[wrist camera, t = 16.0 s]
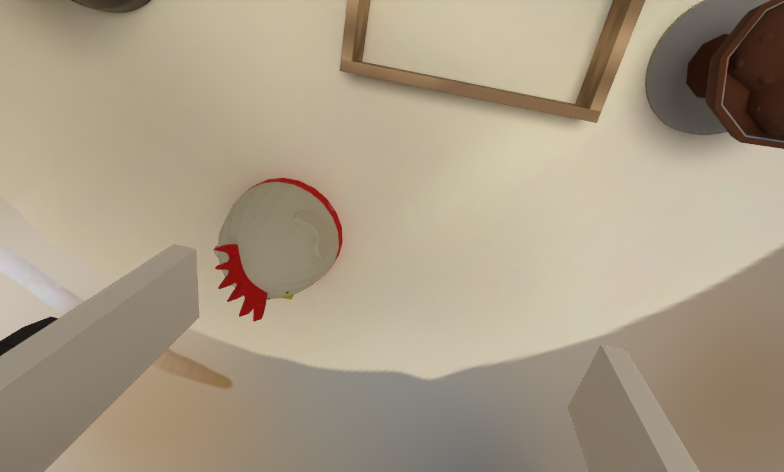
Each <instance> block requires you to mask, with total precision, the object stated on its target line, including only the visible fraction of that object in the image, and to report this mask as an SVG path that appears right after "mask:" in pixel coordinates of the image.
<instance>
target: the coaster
mask: <svg viewBox="0 0 784 472" xmlns="http://www.w3.org/2000/svg"><path fill="white" fill-rule="evenodd" d="M768 1H770V0H704V1H702V2H700V3H698V4H697V5H695V6H693V7H692V8H690V9H689V10H688V11H686V12H685V13H683V14H682V15H681V16H680V17H679V18H678V19H677V20H676V21H675V22H674V23H673V24H672V25H671V26H670V27H669V28H668V29H667V30H666V32H665V33H664V34H663V36H662V37H661V39H660V40H659V42H658V44H657V45H656V47H655V49H654V51H653V53H652V56H651V58H650V61H649V64H648V69H647V73H646V93H647V97H648V101H649V103H650V106H651V108H652V109H653V111H654V113H655V114H656V115H657V116H658V118H659V119H660V120H662V121H663V122H664V123H665V124H667V125H668V126H670V127H672V128H674V129H677V130H679V131H683V132H686V133H690V134H698V135H710V134H717V133H722V132H726V131H727V130H726V129H725V127H724V126H723V125H722V124H721V122H720V121H719V120H718V118H717V117H716V116H715V115H714V113H713V112H712V111H711V109H710V108H709V107H708V106H707V104H706V100H705V99H706V98H699V97H696V96H695V94H694V93H693V92H692V90H691V89H690V88H689V87H688V85H687V84H686V79H687V69H688V63H689V61H690V60H691V59H692V58H693V56H694V55H695V54H696V52H697V51H698V50H699V48H700V47H701V46H702V44H704V43H706V42H708V41H710V40H712V39H714V38H717V37H719V36H721V35H723V34H730V33H731V32H732V31H733V29H734V28H735V27H736V26H737V24H738V23H739V22H740V20H741V19H742V18H743V17H744V16H745V15H746V14H747V13H748V11H750V10H752V9H754V8H756V7H758V6H760V5H762V4H764V3H766V2H768Z"/></svg>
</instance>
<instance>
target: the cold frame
mask: <svg viewBox="0 0 784 472" xmlns="http://www.w3.org/2000/svg"><path fill="white" fill-rule="evenodd" d="M644 2H645V0H614V1H613V3H612V6H611V9H610V12H609V14H608V17H607V20H606V23H605V25H604V28H603V31H602V33H601V36H600V39H599V42H598V44H597V47H596V50H595V53H594V55H593V58H592V61H591V64H590V66H589V69H588V72H587V74H586V77H585V80H584V83H583V85H582V88H581V91H580V94H579V96H578V99H577V102H576V105H575V104H570V103H565V102H560V101H555V100H550V99H545V98H540V97H535V96H530V95H525V94H520V93H515V92H510V91H505V90H500V89H495V88H490V87H485V86H480V85H475V84H470V83H465V82H460V81H455V80H450V79H445V78H441V77H436V76H431V75H426V74H421V73H416V72H411V71H406V70H401V69H396V68H391V67H386V66H381V65H376V64H371V63H366V62H362V58H363V51H364V43H365V35H366V28H367V20H368V13H369V5H370V0H348V1H347V10H346V19H345V28H344V37H343V46H342V55H341V64H340V71H343V72H348V73H353V74H358V75H363V76H368V77H373V78H378V79H383V80H388V81H393V82H397V83H402V84H407V85H412V86H417V87H422V88H427V89H432V90H437V91H442V92H447V93H452V94H457V95H462V96H467V97H472V98H477V99H481V100H486V101H491V102H496V103H501V104H506V105H511V106H516V107H521V108H526V109H531V110H536V111H541V112H546V113H551V114H556V115H561V116H566V117H570V118H575V119H580V120H585V121H590V122H595V123H597V121H598V118H599V116H600V113H601V111H602V108H603V106H604V103H605V101H606V98H607V95H608V93H609V90H610V88H611V85H612V83H613V80H614V78H615V75H616V73H617V70H618V68H619V65H620V63H621V60H622V58H623V55H624V53H625V50H626V47H627V45H628V42H629V40H630V37H631V35H632V32H633V30H634V27H635V25H636V22H637V20H638V17H639V15H640V12H641V10H642V7H643V5H644Z"/></svg>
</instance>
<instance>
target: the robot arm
mask: <svg viewBox="0 0 784 472" xmlns="http://www.w3.org/2000/svg"><path fill="white" fill-rule="evenodd" d="M72 1H74V2H76V3H78V4H81V5H83V6H86V7H90V8H93V9H99V10H105V11H111V12H126V11H131V10H134V9H137V8H139V7H141V6H143V5H144V4H145V3H147V2H148V1H149V0H72ZM198 318H199V302H198V281H197V260H196V249H192V248H188V247H183V246H179V245H175V244H174V245H172V246H170V247H169V248H167V249H166V250H164V251H163V252H161V253H160V254H158V255H156V256H155V257H153V258H152V259H150V260H149V261H147V262H146V263H144V264H143V265H141V266H139V267H138V268H136V269H135V270H133V271H132V272H130V273H129V274H127V275H125V276H124V277H122V278H121V279H119V280H118V281H116V282H115V283H113V284H112V285H110V286H108V287H107V288H105V289H104V290H102V291H101V292H99V293H98V294H96V295H94V296H93V297H92V298H90V299H88V300H87V301H85V302H84V303H82V304H81V305H79V306H77V307H76V308H74V309H73V310H71V311H70V312H68V313H67V314H65V315H63V316H62V317H60V318H59V319H58V318H54V317H49V318H46V319H43V320H41V321H38V322H35V323H33V324H30V325H28V326H25V327H23V328H21V329H19V330H18V331H16V332H15V333H13V334H11V335H10V336H8V337H6V338H5V339H3V340H1V341H0V472H44V471H45V470H46V469H47V468H48V467H49V466H50V465H51V464H52V463H53V462H54V461H55V460H56V459H57V458H58V457H59V456H60V455H61V454H62V453H63V452H64V451H65V450H66V449H67V448H68V447H69V446H70V445H71V444H72V443H73V442H74V441H75V440H76V439H77V438H78V437H79V436H80V435H81V434H82V433H83V432H84V431H85V430H86V429H87V428H88V427H89V426H90V425H91V424H92V423H93V422H94V421H95V420H96V419H97V418H98V417H99V416H100V415H101V414H102V413H103V412H104V411H105V410H106V409H107V408H108V407H109V406H110V405H111V404H112V403H113V402H114V401H115V400H116V399H117V398H118V397H119V396H120V395H121V394H122V393H123V392H124V391H125V390H126V389H127V388H128V387H129V386H130V385H131V384H132V383H133V382H134V381H135V380H137V378H138V377H140V375H142V374H143V372H145V371H146V370H147V368H149V366H151V365H152V364H153V363H154V362H155V361H156V360H157V359H158V358H159V357H160V356H161V355H162V354H163V353H164V352H165V351H166V350H167V349H168V348H169V347H170V345H172V344H173V342H175V341H176V339H178V338H179V337H180V336H181V334H183V333H184V332H185V331H186V330H187V329H188V328H189V327H190V326H191V325H192V324H193V323H194V322H195V321H196V320H197V319H198ZM568 410H569V413H570V416H571V418H572V422H573V425H574V427H575V431H576V434H577V437H578V440H579V443H580V446H581V449H582V452H583V455H584V458H585V461H586V464H587V467H588V469H589V472H699V470H698V469H697V467H696V465H695V463H694V462H693V460H692V458H691V457H690V455H689V454H688V452H687V450H686V449H685V447H684V445H683V444H682V442H681V440H680V439H679V437H678V435H677V434H676V432H675V430H674V429H673V427H672V425H671V424H670V422H669V420H668V419H667V417H666V415H665V414H664V412H663V410H662V409H661V407H660V405H659V404H658V402H657V400H656V399H655V397H654V396H653V394H652V392H651V391H650V389H649V387H648V386H647V384H646V382H645V381H644V379H643V377H642V376H641V374H640V372H639V371H638V369H637V367H636V366H635V364H634V362H633V361H632V359H631V357H630V356H629V354H628V352H627V351H626V350H623V349H619V348H614V347H610V346H606V345H600V347H599V349H598V351H597V353H596V355H595V356H594V358H593V360H592V362H591V364H590V366H589V368H588V370H587V372H586V374H585V376H584V377H583V379H582V381H581V383H580V385H579V387H578V389H577V390H576V393H575V394H574V396H573V398H572V400H571V402H570V404H569V406H568Z"/></svg>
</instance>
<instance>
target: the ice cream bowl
mask: <svg viewBox="0 0 784 472" xmlns="http://www.w3.org/2000/svg"><path fill="white" fill-rule="evenodd" d="M686 84H687V85H688V87H689V88H690V89H691V90H692V92H693V93H694V94H695V96H696V97H699V98H706V99H705V100H706V104H707V106H708V107H709V108H710V109H711V111H712V112H713V113H714V115H715V116H716V117H717V118H718V120H719V121H720V122H721V124H722V125H723V126H724V127H725V129H726V130H727V131H728V133H729V134H730V135H731V136H732V137H734V138H735V139H736V140H738V141H739V142H742V143H749V144H755V145H762V146H769V147H775V148H782V149H784V0H770V1H768V2H766V3H764V4H762V5H760V6H758V7H756V8H754V9H752V10H750V11H748V13H747V14H746V15H745V16H744V17H743V18H742V19H741V20H740V22H739V23H738V24H737V26H736V27H735V28H734V29H733V31H732V32H731V33H730V34H723V35H721V36H719V37H717V38H714V39H712V40H710V41H708V42H706V43H704V44H702V46H701V47H700V48H699V50H698V51H697V52H696V54H695V55H694V56H693V58H692V59H691V60H690V61H689V63H688V69H687V79H686Z"/></svg>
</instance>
